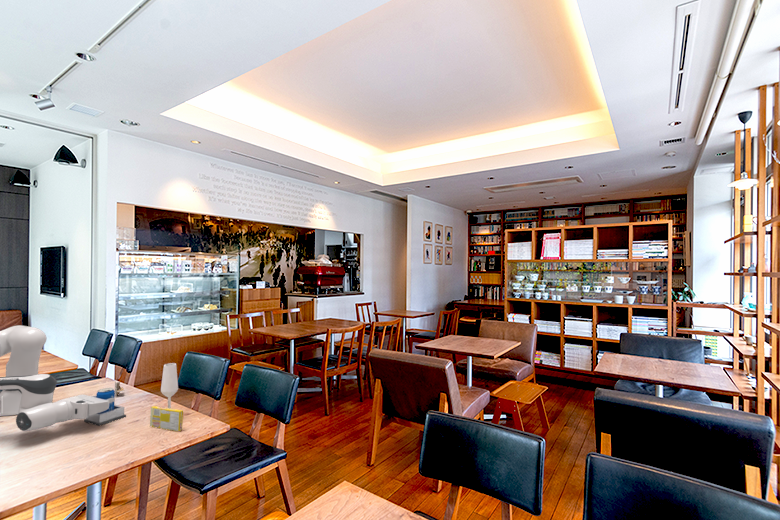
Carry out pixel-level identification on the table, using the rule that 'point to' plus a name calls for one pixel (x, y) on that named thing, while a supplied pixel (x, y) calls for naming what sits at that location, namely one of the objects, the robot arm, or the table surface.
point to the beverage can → (106, 396)
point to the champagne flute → (169, 381)
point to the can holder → (106, 416)
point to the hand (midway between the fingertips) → (107, 397)
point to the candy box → (166, 418)
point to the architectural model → (118, 388)
